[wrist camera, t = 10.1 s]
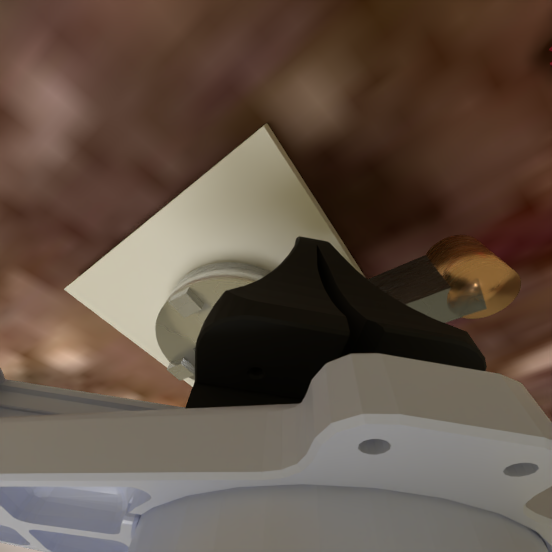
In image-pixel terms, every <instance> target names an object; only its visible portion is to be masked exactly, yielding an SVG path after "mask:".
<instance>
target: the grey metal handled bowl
mask: <svg viewBox="0 0 552 552" xmlns="http://www.w3.org/2000/svg"><path fill="white" fill-rule="evenodd" d="M270 272H271V271H268V270H266V269H263V268H261V267H258V266H254V265H250V264H245V263H237V262H221V263H214V264H209V265H206V266H203V267H200V268H198V269H195V270H193V271H192V272H190V273H189V274H187V275H186V276H184V277H183V278H182V279H181V280H180V281H179V282H178V284H177V285H176V286H175V288H174V289H173V291H172V292H171V294H170V295H169V297H168V299H167V300H166V302H165V303H164V305H163V307H162V308H161V310H160V312H159V314H158V316H157V320H156V326H155V332H156V339H157V342H158V345H159V347H160V349H161V351H162V353H163V354H164V356H165V357H166V358H167V359H168V361H169V362H170V364H169V366H168V368H167V370H168V371H169V372H170V373H171V374H173V375H174V376H175V377H176V378H177V379H179V380H183V379H185V378H188V377H189V378H191V379H193V380H195V346H196V342H197V338H198V335H199V333H200V330H201V328H202V326H203V323H204V321H205V319H206V318H207V316H208V314H209V313H210V311H211V309H212V308H213V306H214V305H215V303H216V302H217V301H218V299H219V298H220V297H221V295H222V294H223V293H224V292H225V291H226V290H230V289H234V288H237V287H241V286H245V285H248V284H250V283H253V282H255V281H257V280H259V279H261V278H263V277H264V276H266V275H267V274H269V273H270ZM367 280H369V281H370V282H371V283H373V284H374V285H375V286H377V287H378V288H379V289H381V290H382V291H384V292H385V293H387V294H388V295H390V296H392V297H393V298H395V299H397V300H398V301H400V302H402V303H403V304H405V305H407V306H409V307H411V308H413V309H415V310H417V311H419V312H421V313H423V314H425V315H427V316H429V317H431V318H433V319H436V320H438V321H441V322H443V323H445V322H448V321H451V320H454V319H457V318H460V317H462V318H469V319H475V318H482V317H486V316H490V315H492V314H495V313H497V312H499V311H501V310H502V309H504V308H505V307H507V306H508V305H509V304H510V303H511V302H512V301H513V300H514V299H515V298H516V296H517V295H518V293H519V290H520V287H521V280H520V277H519V275H518V274H517V273H516V272H515V271H514V270H513V269H512V268H510V267H509V266H508V265H507V264H506V263H504V262H503V261H502V260H501V259H500V258H498V257H497V256H496V255H495V254H494V253H492V252H491V251H490V250H489V249H488V248H486V247H485V246H484V245H483V244H481V243H480V242H479V241H478V240H477V239H475V238H473V237H471V236H467V235H456V236H451V237H448V238H445V239H443V240H441V241H439V242H438V243H436V244H435V245H434V246H433V247H432V248H431V249H430V250H429V251H428V252H427V254H426V255H425V256H422V257H420V258H418V259H415V260H413V261H410V262H408V263H406V264H403V265H401V266H398V267H396V268H394V269H391V270H389V271H387V272H384V273H382V274H379V275H377V276H375V277H372V278H370V279H367Z"/></svg>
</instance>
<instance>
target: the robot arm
mask: <svg viewBox="0 0 552 552" xmlns="http://www.w3.org/2000/svg"><path fill="white" fill-rule="evenodd" d="M0 543H5V544H9V545H14V546H20V547H24V548H29V549H34V550H38V551H43V552H552V422H551V421H550V420H549V418H548V417H547V416H546V415H545V413H544V412H543V411H542V409H541V408H540V407H539V405H538V404H537V403H536V402H535V400H534V399H533V398H532V396H531V395H530V394H529V392H528V391H527V390H526V388H525V387H524V386H523V385H522V383H520V382H518V381H515V380H513V379H511V378H508V377H506V376H503V375H501V374H497V373H492V372H486V362H485V357H484V356H483V355H482V353H481V352H480V350H479V349H478V347H477V346H476V344H475V343H474V341H473V340H472V338H471V337H470V336H469V334H468V333H467V332H466V331H463V330H461V329H458V328H456V327H453V326H451V325H448V324H446V323H443V322H441V321H438V320H436V319H433V318H431V317H429V316H427V315H425V314H423V313H421V312H419V311H417V310H415V309H413V308H411V307H409V306H407V305H405V304H403V303H402V302H400V301H398V300H397V299H395V298H393V297H392V296H390V295H388V294H387V293H385V292H384V291H382V290H381V289H379V288H378V287H377V286H375V285H374V284H373V283H371V282H370V281H369V280H367V279H366V278H365V277H364V276H363V275H362V274H360V273H359V272H358V271H357V270H356V269H355V268H354V267H353V266H352V265H351V264H350V263H349V262H348V261H347V260H346V259H345V258H344V257H343V256H342V255H341V254H340V253H339V252H338V251H337V250H336V249H335V248H334V247H333V245H332V244H330V243H329V242H328V241H323V240H317V239H312V238H306V237H301V236H299V237H297V238H296V241H295V245H294V247H293V249H292V250H291V252H290V253H289V255H288V256H287V257H286V258H285V259H284V260H283V262H282V263H281V264H280V265H279V266H278V267H276V268H275V269H274V270H273V271H272V272H270V273H269V274H267V275H266V276H264V277H263V278H261V279H259V280H257V281H255V282H253V283H250V284H248V285H245V286H241V287H237V288H234V289H230V290H226V291H225V292H224V293H223V294H222V295H221V297H220V298H219V299H218V301H217V302H216V303H215V305H214V306H213V308H212V309H211V311H210V313H209V314H208V316H207V318H206V319H205V321H204V323H203V326H202V328H201V330H200V333H199V335H198V338H197V342H196V346H195V382H194V385H193V388H192V391H191V394H190V396H189V399H188V402H187V405H186V408H183V407H177V406H170V405H164V404H158V403H151V402H145V401H139V400H132V399H126V398H120V397H113V396H107V395H101V394H94V393H88V392H82V391H75V390H69V389H63V388H56V387H50V386H44V385H37V384H31V383H25V382H18V381H12V380H6V379H5V378H4V374H3V372H2V370H1V368H0Z"/></svg>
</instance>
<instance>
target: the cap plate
mask: <svg viewBox="0 0 552 552" xmlns="http://www.w3.org/2000/svg"><path fill="white" fill-rule="evenodd" d="M299 236H301V237H306V238H312V239H317V240H323V241H328V242H329V243H330V244H332V245H333V247H334V248H335V249H336V250H337V251H338V252H339V253H340V254H341V255H342V256H343V257H344V258H345V259H346V260H347V261H348V262H349V263H350V264H351V265H352V266H353V267H354V268H355V269H356V270H357V271H358V272H359V273H360V274H362V275H363V276H364V274H363V273H362V271H361V270H360V268H359V266H358V265H357V263H356V262H355V260H354V259H353V257H352V255H351V254H350V252H349V251H348V249H347V248H346V246H345V245H344V243H343V241H342V240H341V238H340V237H339V235H338V234H337V232H336V230H335V229H334V227H333V226H332V224H331V223H330V221H329V219H328V218H327V216H326V215H325V213H324V212H323V210H322V208H321V207H320V205H319V204H318V202H317V201H316V199H315V198H314V196H313V194H312V193H311V191H310V190H309V188H308V187H307V185H306V183H305V182H304V180H303V179H302V177H301V176H300V174H299V172H298V171H297V169H296V168H295V166H294V165H293V163H292V161H291V160H290V158H289V157H288V155H287V154H286V152H285V151H284V149H283V147H282V146H281V144H280V143H279V141H278V140H277V138H276V136H275V135H274V133H273V132H272V130H271V129H270V127H269V125H268V124H267V123H266V124H265V125H264V126H262V127H261V128H260V129H259V130H257V131H256V132H255V133H254V134H253V135H251V136H250V137H249V138H248V139H246V140H245V141H244V142H243V143H242V144H240V145H239V146H238V147H237V148H235V149H234V150H233V151H232V152H231V153H229V154H228V155H227V156H226V157H224V158H223V159H222V160H221V161H220V162H218V163H217V164H216V165H215V166H213V167H212V168H211V169H210V170H209V171H207V172H206V173H205V174H204V175H203V176H201V177H200V178H199V179H198V180H196V181H195V182H194V183H193V184H192V185H190V186H189V187H188V188H187V189H185V190H184V191H183V192H182V193H181V194H179V195H178V196H177V197H176V198H174V199H173V200H172V201H171V202H170V203H168V204H167V205H166V206H165V207H163V208H162V209H161V210H160V211H159V212H157V213H156V214H155V215H154V216H152V217H151V218H150V219H149V220H148V221H146V222H145V223H144V224H143V225H141V226H140V227H139V228H138V229H137V230H135V231H134V232H133V233H132V234H130V235H129V236H128V237H127V238H126V239H124V240H123V241H122V242H121V243H119V244H118V245H117V246H116V247H115V248H113V249H112V250H111V251H110V252H108V253H107V254H106V255H105V256H104V257H102V258H101V259H100V260H99V261H97V262H96V263H95V264H94V265H93V266H91V267H90V268H89V269H88V270H87V271H85V272H84V273H83V274H82V275H80V276H79V277H78V278H77V279H76V280H74V281H73V282H72V283H71V284H70V285H69V286H67V287H66V288H65V289H64V290H65V291H67V292H68V293H69V294H71V295H72V296H73V297H75V298H76V299H77V300H79V301H80V302H81V303H83V304H84V305H85V306H87V307H88V308H89V309H91V310H92V311H93V312H95V313H96V314H97V315H98V316H100V317H101V318H102V319H104V320H105V321H106V322H108V323H109V324H110V325H112V326H113V327H114V328H116V329H117V330H118V331H120V332H121V333H122V334H124V335H125V336H126V337H128V338H129V339H130V340H131V341H133V342H134V343H135V344H137V345H138V346H139V347H141V348H142V349H143V350H145V351H146V352H147V353H149V354H150V355H151V356H153V357H154V358H155V359H157V360H158V361H159V362H161V363H162V364H163V365H165V366H166V367H167V368H168V366H169V364H170V362H169V361H168V359H167V358H166V357H165V356H164V354H163V353H162V351H161V349H160V347H159V345H158V342H157V339H156V332H155V326H156V320H157V316H158V314H159V312H160V310H161V308H162V307H163V305H164V303H165V302H166V300H167V299H168V297H169V295H170V294H171V292H172V291H173V289H174V288H175V286H176V285H177V284H178V282H179V281H180V280H181V279H182V278H183V277H184V276H186V275H187V274H189V273H190V272H192V271H193V270H195V269H198V268H200V267H203V266H206V265H209V264H214V263H221V262H237V263H245V264H250V265H254V266H258V267H261V268H263V269H266V270H268V271H271V272H272V271H273V270H274V269H275V268H276V267H278V266H279V265H280V264H281V263H282V262H283V260H284V259H285V258H286V257H287V256H288V255H289V253H290V252H291V250H292V249H293V247H294V245H295V241H296V238H297V237H299ZM364 277H365V276H364ZM365 278H366V277H365ZM183 380H184V381H186V382H187V383H188V384H190V385H191V386H192V387H193V385H194V382H195V380H193V379H191V378H189V377H188V378H185V379H183Z"/></svg>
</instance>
